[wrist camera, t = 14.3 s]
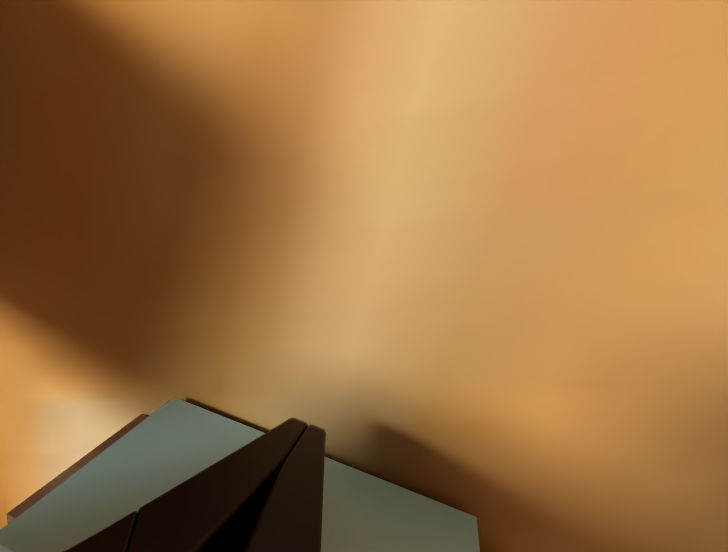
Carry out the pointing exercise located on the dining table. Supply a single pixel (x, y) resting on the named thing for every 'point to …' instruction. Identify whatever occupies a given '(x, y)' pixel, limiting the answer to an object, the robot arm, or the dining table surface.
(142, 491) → the tray
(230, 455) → the robot arm
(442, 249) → the dining table surface
